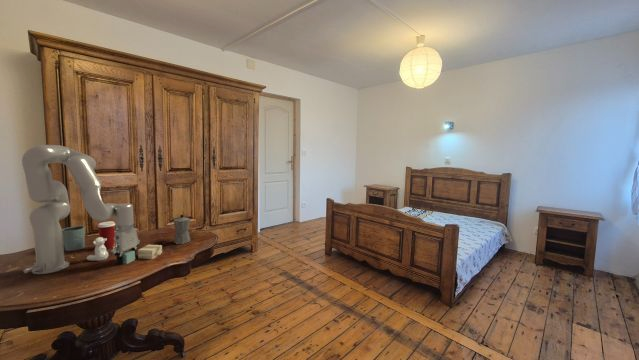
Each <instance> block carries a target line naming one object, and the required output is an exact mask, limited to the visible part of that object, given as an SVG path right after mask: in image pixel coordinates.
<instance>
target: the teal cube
mask: <svg viewBox="0 0 639 360" xmlns="http://www.w3.org/2000/svg"><path fill="white" fill-rule="evenodd" d="M122 256H123V263H122V264H125V265H127V264H130V263H131V262H134V261H136V257H135V251H130V249H128V250H126V251H123V253H122Z"/></svg>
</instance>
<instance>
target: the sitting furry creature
mask: <svg viewBox="0 0 639 360" xmlns="http://www.w3.org/2000/svg"><path fill="white" fill-rule="evenodd" d="M106 240H107V238H105V239H103V238H101V237H100V236H99V237H97V238H96V239H94V240H93V241H92V244H93V245H94V246H95V248H94V254H90V255H88V256H86V260H87V261H92V262H93V261H95V262H96V261H97V262H100V261H105V260H107V259H108V257H109V251H107V250H108V249H106V247H105V246H104V245H103V244H104V243H105V241H106Z"/></svg>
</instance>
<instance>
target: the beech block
mask: <svg viewBox="0 0 639 360" xmlns="http://www.w3.org/2000/svg"><path fill="white" fill-rule="evenodd" d="M161 253H162V254H163V245H161V244H160V245H159V244H146V245H145V246H143V247H140V248H139V249H137V255H138V256H137V257H138V259H144V260H146V259H147V260H153V259H156V258H157V257H159V256H160V255H162V254H161ZM158 255H159V256H158Z"/></svg>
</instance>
